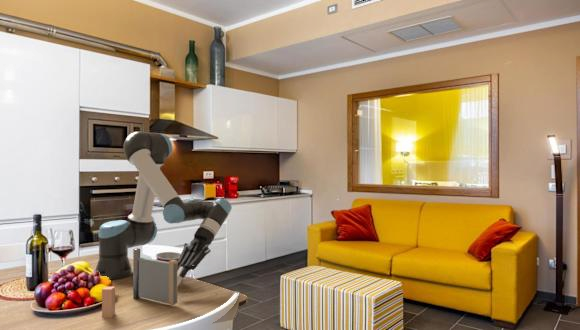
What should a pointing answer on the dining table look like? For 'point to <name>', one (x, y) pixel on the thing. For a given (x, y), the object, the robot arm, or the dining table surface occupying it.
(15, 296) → the dining table surface
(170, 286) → the panel
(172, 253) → the plastic cup
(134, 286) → the gate post
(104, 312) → the post
